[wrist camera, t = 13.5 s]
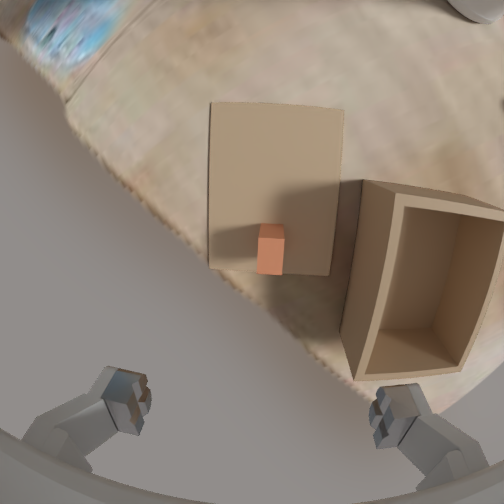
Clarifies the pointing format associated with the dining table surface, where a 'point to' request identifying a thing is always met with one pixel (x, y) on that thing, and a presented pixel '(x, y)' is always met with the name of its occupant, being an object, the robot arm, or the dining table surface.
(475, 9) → the vodka
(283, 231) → the box lid
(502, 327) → the dining table surface
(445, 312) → the brown carton
